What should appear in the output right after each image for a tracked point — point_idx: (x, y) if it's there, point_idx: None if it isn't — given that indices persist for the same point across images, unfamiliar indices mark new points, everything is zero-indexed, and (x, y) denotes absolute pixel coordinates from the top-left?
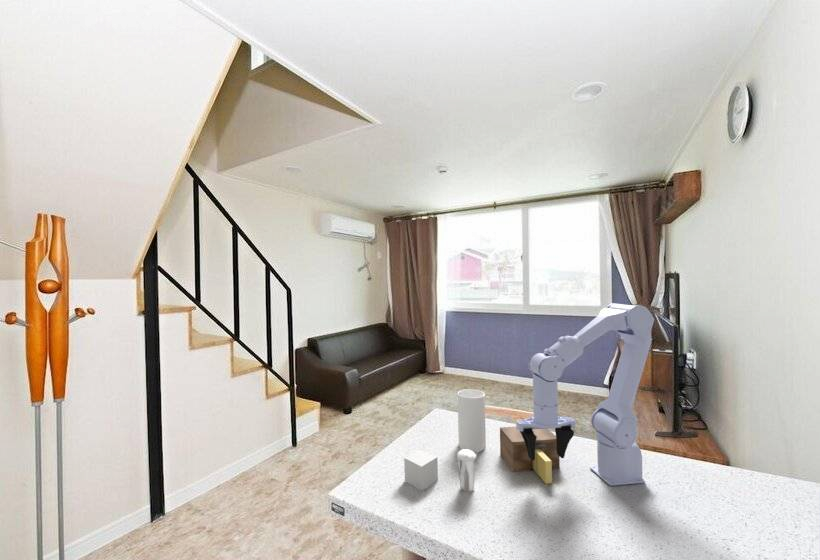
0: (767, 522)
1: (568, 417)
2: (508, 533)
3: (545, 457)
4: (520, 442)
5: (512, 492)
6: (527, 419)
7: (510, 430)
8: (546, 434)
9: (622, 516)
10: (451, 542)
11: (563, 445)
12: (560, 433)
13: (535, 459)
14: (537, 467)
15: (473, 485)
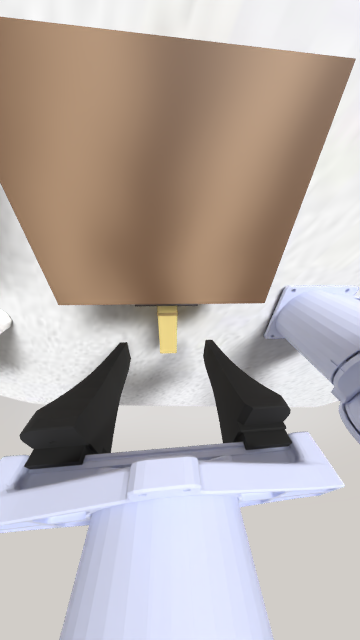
0: None
1: (330, 487)
2: None
3: (169, 340)
4: (98, 302)
5: (93, 334)
6: (47, 509)
7: (45, 138)
8: (246, 255)
9: None
10: (9, 396)
11: (213, 391)
12: (227, 416)
13: None
14: None
15: (3, 329)
